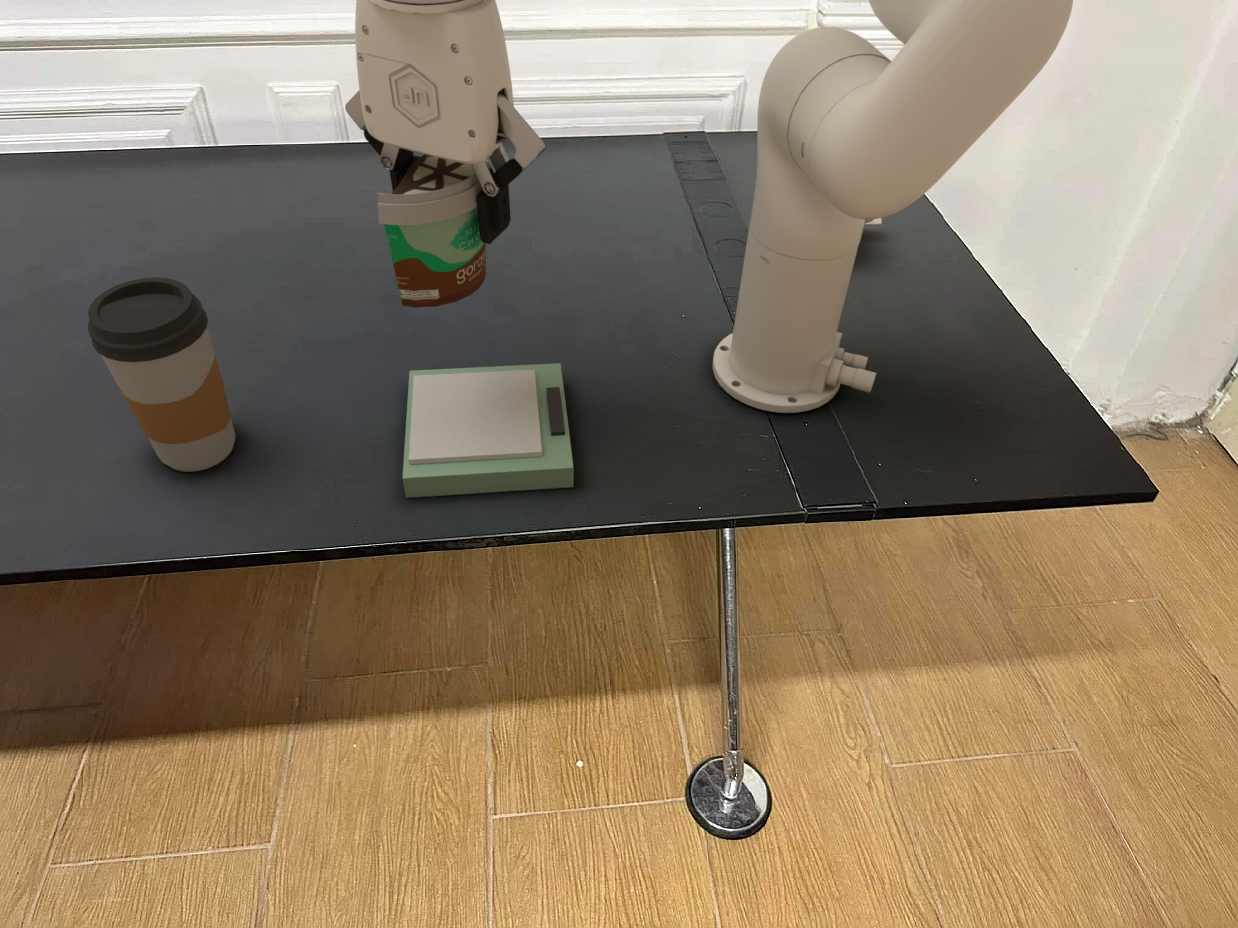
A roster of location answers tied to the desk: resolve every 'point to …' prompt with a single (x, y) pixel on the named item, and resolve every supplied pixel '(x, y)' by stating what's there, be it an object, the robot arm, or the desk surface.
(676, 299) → the desk surface
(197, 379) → the coffee cup
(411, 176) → the food container
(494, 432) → the kitchen scale
